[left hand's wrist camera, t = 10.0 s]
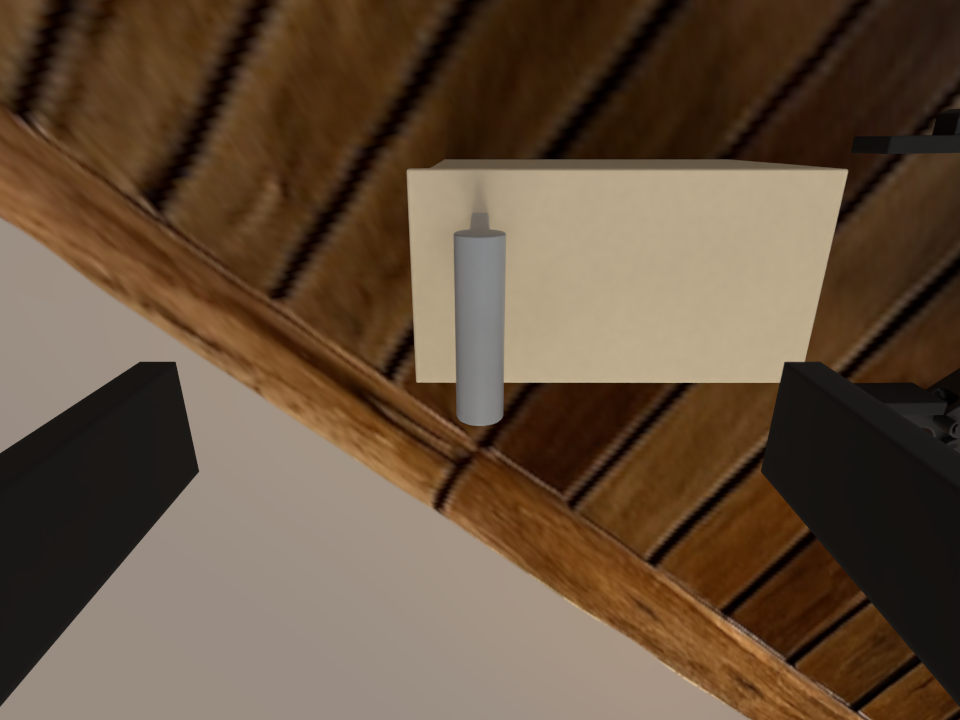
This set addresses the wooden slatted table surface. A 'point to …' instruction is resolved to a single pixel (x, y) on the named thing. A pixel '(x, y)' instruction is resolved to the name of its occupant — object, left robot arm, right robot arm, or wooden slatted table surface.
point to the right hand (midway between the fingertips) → (838, 283)
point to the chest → (608, 163)
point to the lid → (614, 275)
